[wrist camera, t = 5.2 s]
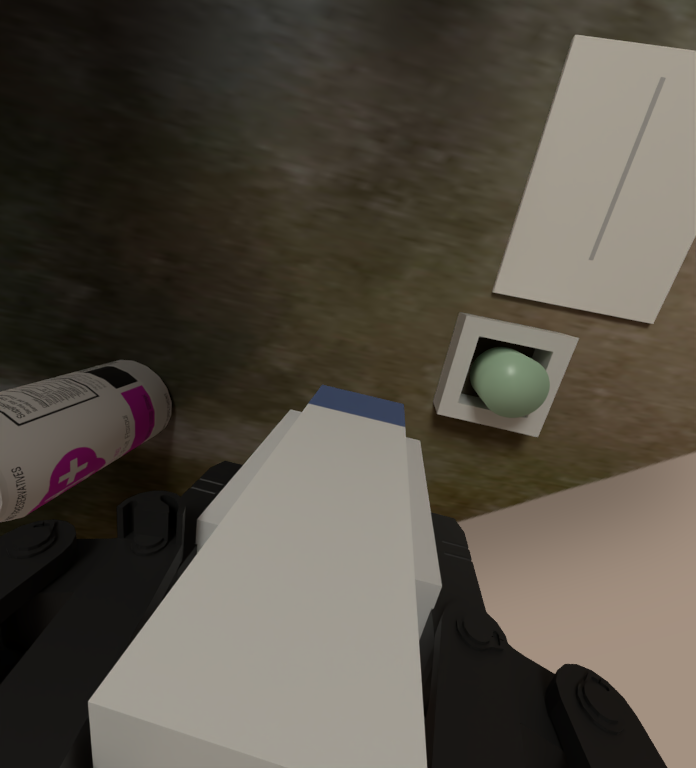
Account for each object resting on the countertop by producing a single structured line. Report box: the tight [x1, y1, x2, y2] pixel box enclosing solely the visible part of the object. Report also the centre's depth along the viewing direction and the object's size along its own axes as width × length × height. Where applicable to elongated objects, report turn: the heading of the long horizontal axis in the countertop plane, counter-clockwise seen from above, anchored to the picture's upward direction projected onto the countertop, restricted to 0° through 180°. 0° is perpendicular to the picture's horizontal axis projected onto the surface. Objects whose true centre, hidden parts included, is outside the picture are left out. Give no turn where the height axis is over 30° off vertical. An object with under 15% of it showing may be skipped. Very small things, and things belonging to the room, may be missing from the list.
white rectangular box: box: [88, 385, 427, 768], centre depth 10 cm, size 4×4×12 cm
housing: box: [433, 312, 579, 437], centre depth 26 cm, size 8×8×3 cm
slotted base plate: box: [492, 35, 696, 324], centre depth 23 cm, size 16×12×1 cm
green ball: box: [470, 347, 550, 418], centre depth 24 cm, size 4×4×4 cm
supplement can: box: [0, 360, 172, 522], centre depth 26 cm, size 8×8×15 cm
